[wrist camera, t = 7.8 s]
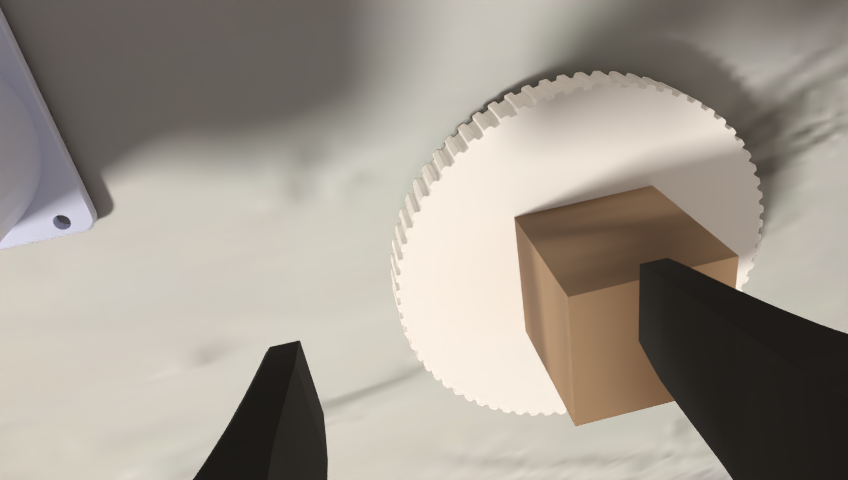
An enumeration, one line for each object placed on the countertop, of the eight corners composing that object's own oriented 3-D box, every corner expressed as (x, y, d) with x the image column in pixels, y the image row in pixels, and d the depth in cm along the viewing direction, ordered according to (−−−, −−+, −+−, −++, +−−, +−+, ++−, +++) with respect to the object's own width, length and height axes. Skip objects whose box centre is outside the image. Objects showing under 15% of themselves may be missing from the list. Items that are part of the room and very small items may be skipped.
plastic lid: (583, 411, 30) (605, 451, 28) (322, 308, 25) (325, 348, 23) (790, 172, 26) (836, 198, 24) (525, -16, 20) (553, -5, 18)
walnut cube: (525, 331, 24) (575, 426, 20) (513, 216, 22) (567, 297, 17) (649, 300, 24) (725, 387, 20) (652, 185, 22) (739, 256, 18)
